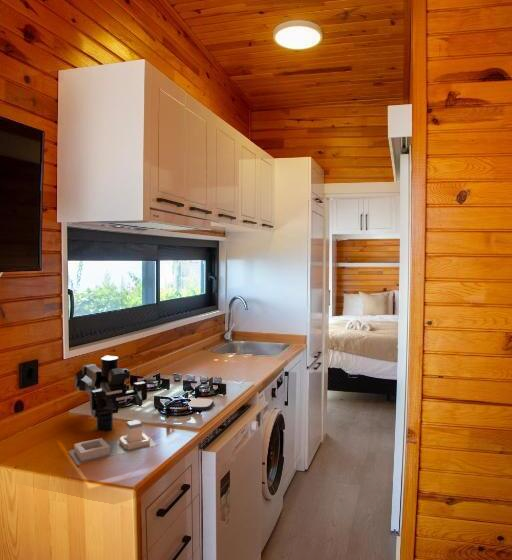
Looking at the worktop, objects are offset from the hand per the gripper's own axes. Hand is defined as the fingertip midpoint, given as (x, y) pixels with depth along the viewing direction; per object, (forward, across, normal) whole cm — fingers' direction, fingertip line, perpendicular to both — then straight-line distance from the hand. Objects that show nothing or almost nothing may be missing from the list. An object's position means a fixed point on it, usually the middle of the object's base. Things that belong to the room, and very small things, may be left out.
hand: (127, 404), depth 157 cm
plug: (-4, +4, +16) cm, 17 cm away
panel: (-4, -4, +17) cm, 17 cm away
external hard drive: (-32, +36, +21) cm, 52 cm away
